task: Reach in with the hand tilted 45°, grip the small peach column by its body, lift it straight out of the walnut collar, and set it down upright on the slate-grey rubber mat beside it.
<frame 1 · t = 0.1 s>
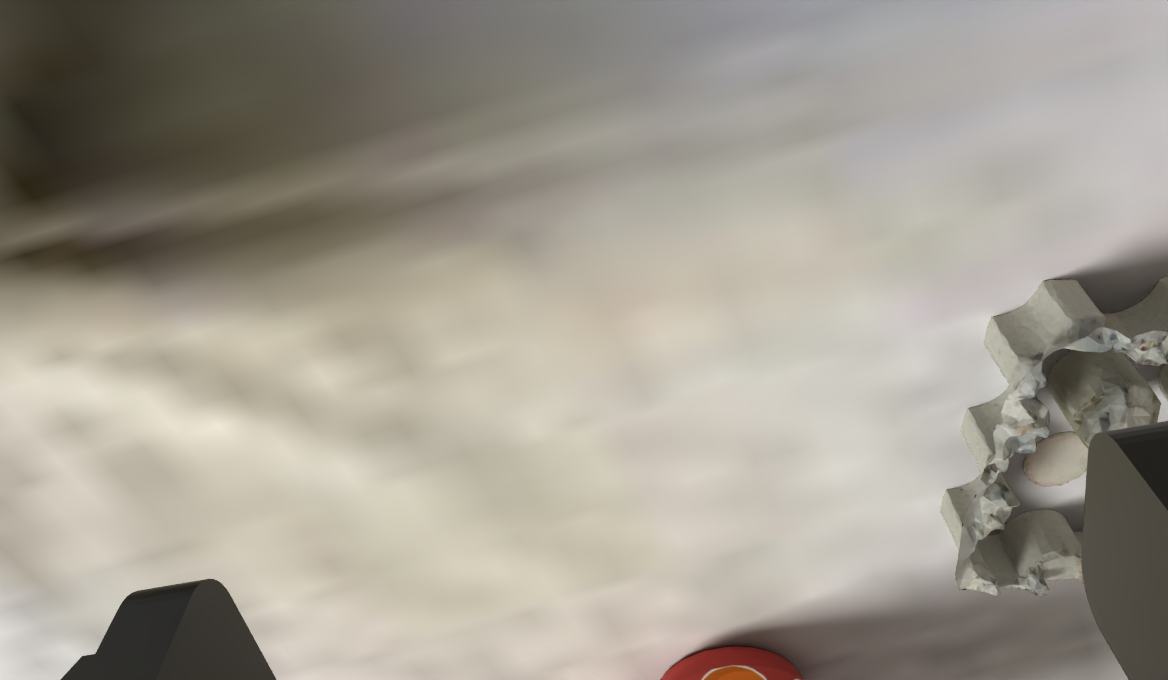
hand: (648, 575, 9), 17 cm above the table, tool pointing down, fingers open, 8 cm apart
egg carton: (1060, 409, 32), on the table
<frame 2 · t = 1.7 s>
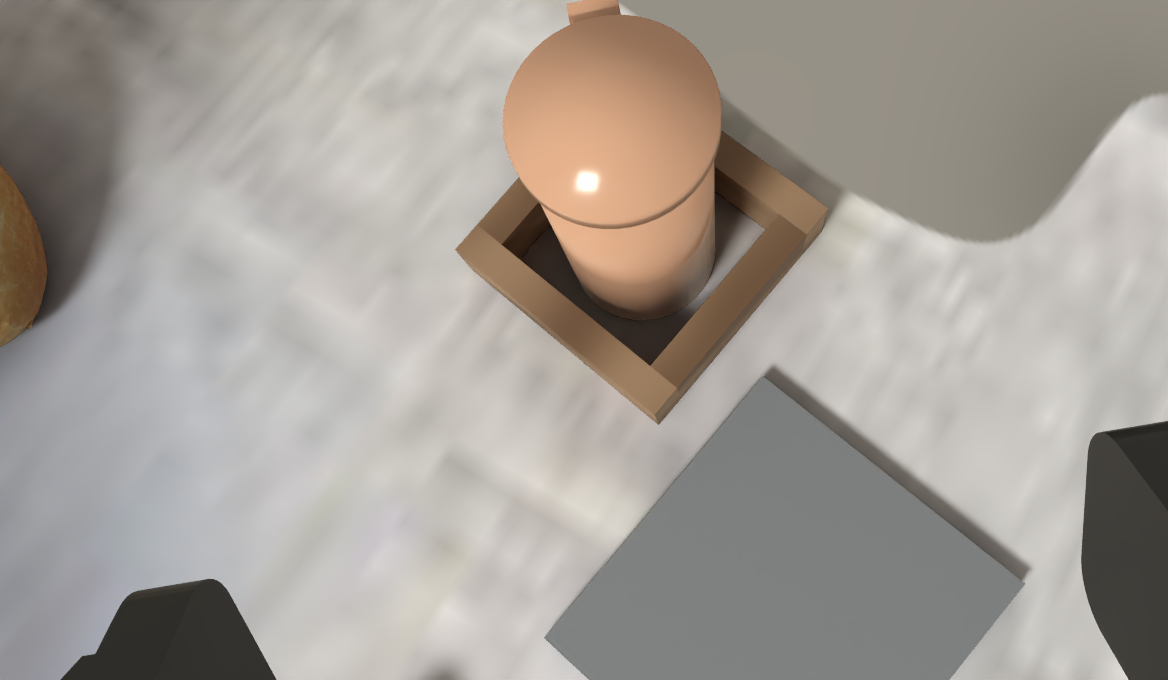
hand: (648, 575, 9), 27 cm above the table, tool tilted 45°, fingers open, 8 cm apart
peach column: (625, 169, 33), in the walnut collar
walnut collar: (643, 250, 38), on the table
slate mat: (778, 610, 35), on the table
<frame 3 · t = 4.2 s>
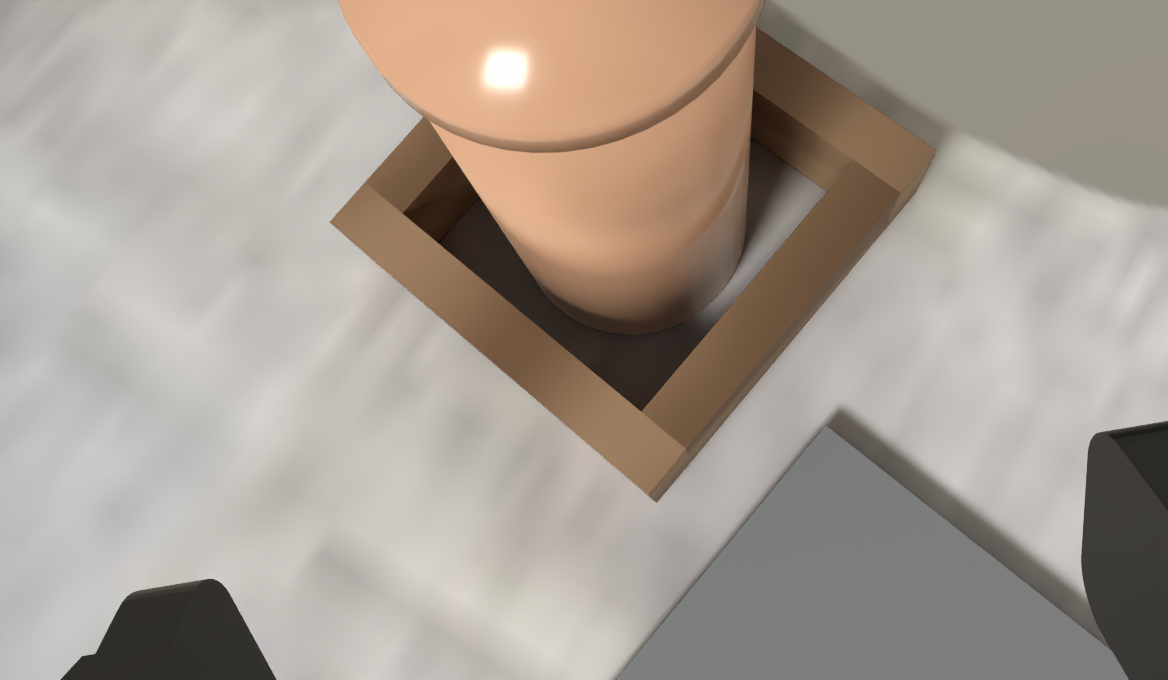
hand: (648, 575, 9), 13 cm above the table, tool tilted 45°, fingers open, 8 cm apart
peach column: (595, 74, 19), in the walnut collar
walnut collar: (632, 225, 24), on the table
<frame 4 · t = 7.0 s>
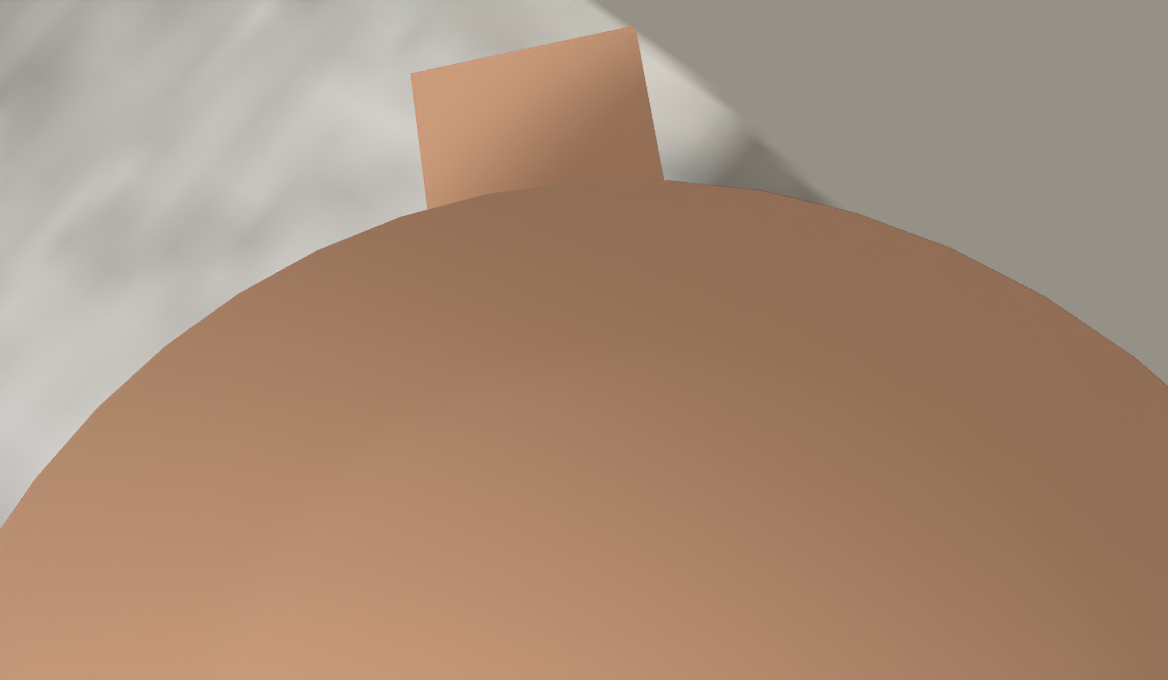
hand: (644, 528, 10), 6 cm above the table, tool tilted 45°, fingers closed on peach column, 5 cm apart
peach column: (660, 621, 10), in the walnut collar, touching gripper
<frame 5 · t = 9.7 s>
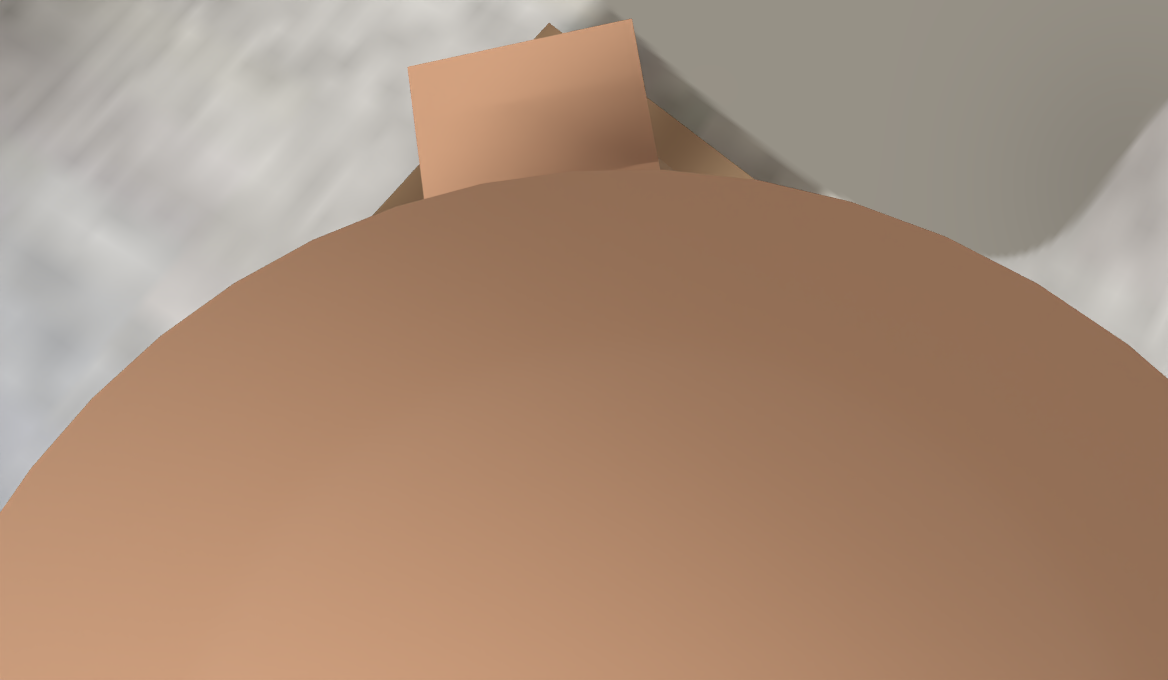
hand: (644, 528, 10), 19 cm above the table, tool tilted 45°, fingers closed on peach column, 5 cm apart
peach column: (659, 616, 10), point 20 cm above the table, touching gripper
walnut collar: (572, 260, 31), on the table
when the fingers open (8 cm above the table, at t = 12.6 s): peach column drops 1 cm, resting on slate mat.
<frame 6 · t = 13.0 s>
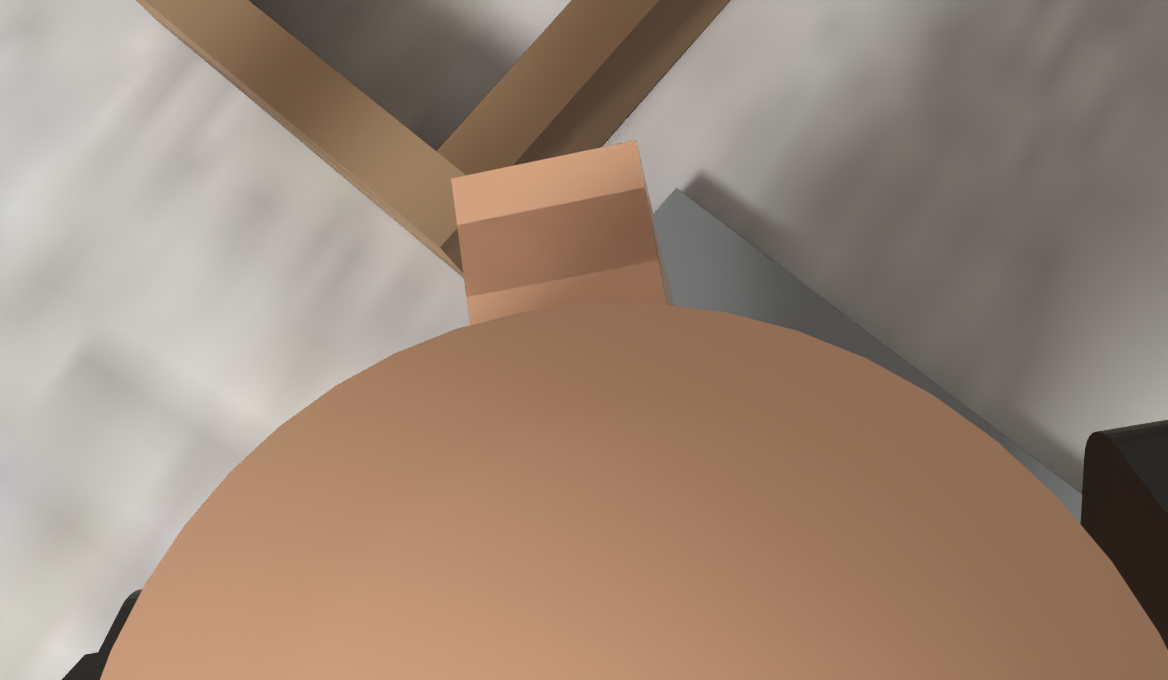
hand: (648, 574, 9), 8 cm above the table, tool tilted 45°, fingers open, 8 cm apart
peach column: (661, 629, 11), on the slate mat
slate mat: (699, 654, 17), on the table
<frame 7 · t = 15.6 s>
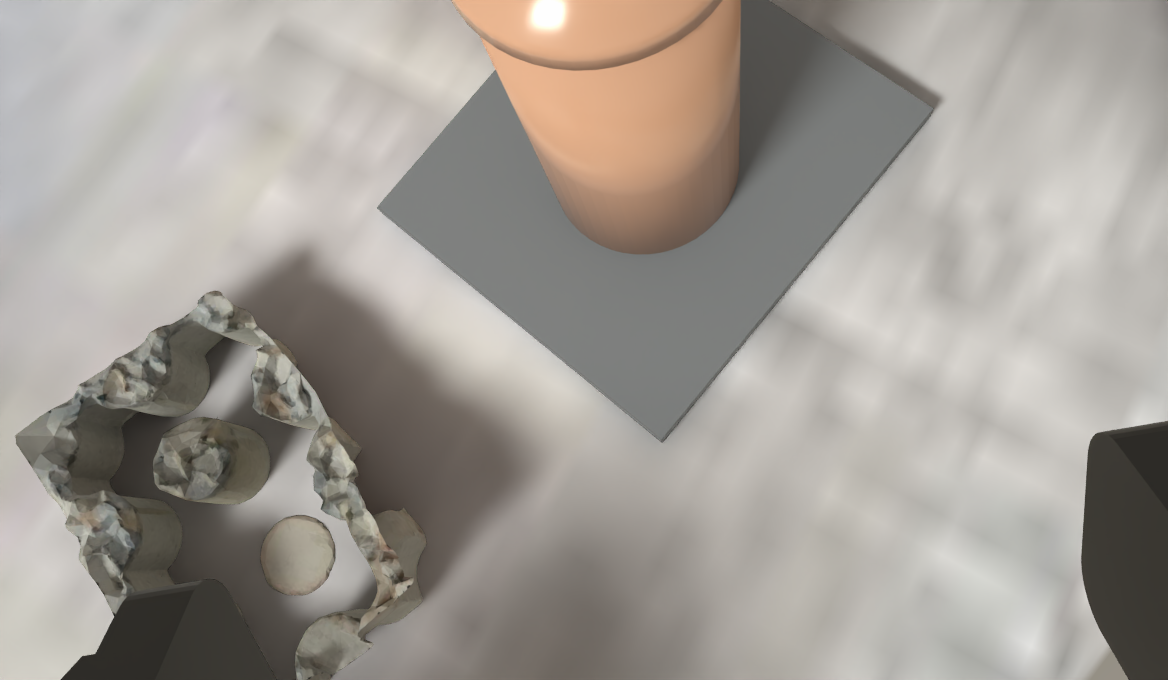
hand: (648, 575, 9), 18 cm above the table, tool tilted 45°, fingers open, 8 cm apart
peach column: (615, 29, 24), on the slate mat
slate mat: (647, 166, 30), on the table
egg carton: (267, 514, 30), on the table
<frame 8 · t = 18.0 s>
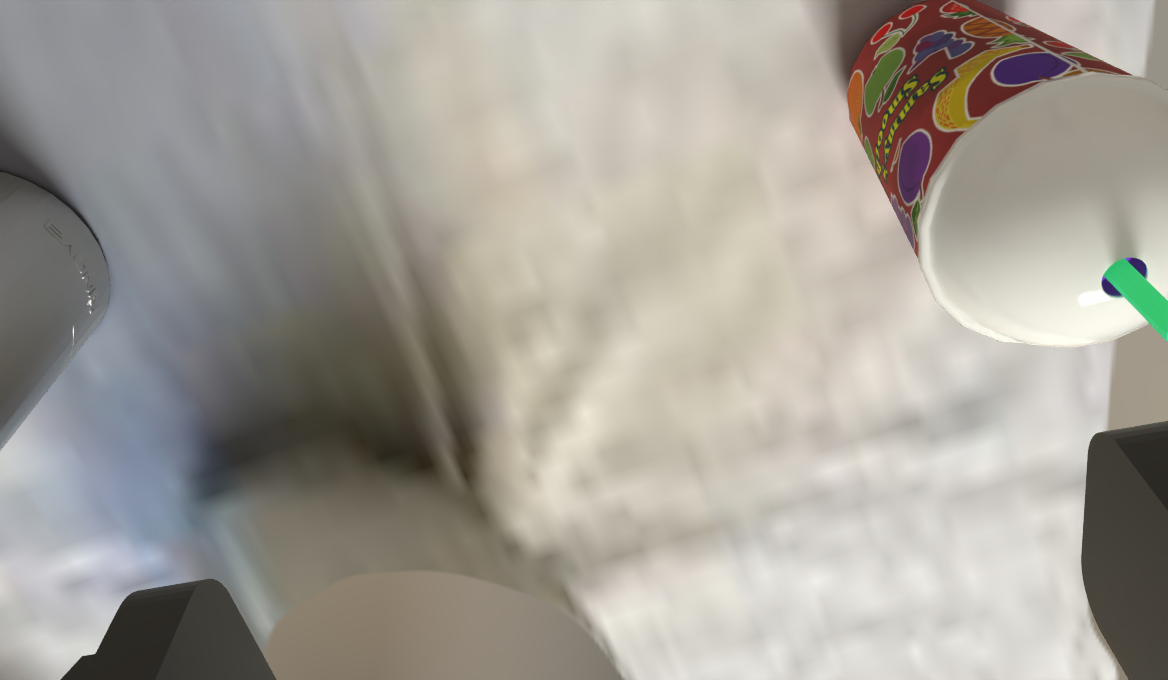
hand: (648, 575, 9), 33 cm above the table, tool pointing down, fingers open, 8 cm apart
smoothie: (922, 74, 41), on the table
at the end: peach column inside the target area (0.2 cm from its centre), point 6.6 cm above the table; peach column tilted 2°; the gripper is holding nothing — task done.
